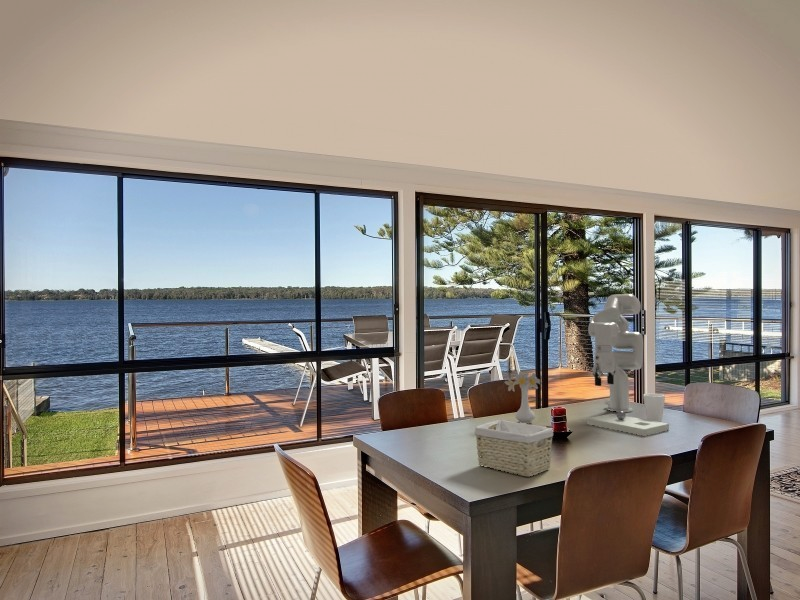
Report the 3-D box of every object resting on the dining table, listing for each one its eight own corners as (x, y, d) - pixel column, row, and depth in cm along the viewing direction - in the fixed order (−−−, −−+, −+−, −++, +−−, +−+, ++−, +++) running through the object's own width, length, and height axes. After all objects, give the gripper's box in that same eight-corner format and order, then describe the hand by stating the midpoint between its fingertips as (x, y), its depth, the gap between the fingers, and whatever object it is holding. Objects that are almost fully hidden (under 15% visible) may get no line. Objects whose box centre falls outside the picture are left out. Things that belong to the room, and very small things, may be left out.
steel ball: (614, 419, 262) (614, 411, 262) (620, 418, 264) (619, 410, 264) (622, 421, 258) (622, 412, 258) (627, 419, 260) (627, 411, 260)
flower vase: (502, 423, 271) (500, 372, 272) (527, 418, 282) (526, 369, 283) (522, 428, 261) (521, 374, 261) (548, 422, 272) (546, 371, 272)
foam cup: (668, 424, 264) (668, 396, 264) (649, 424, 264) (648, 396, 264) (660, 419, 273) (659, 393, 273) (640, 420, 273) (640, 393, 273)
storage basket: (473, 466, 202) (472, 425, 203) (500, 457, 214) (499, 418, 214) (530, 480, 185) (529, 435, 185) (555, 469, 196) (555, 427, 196)
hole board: (587, 424, 266) (587, 418, 266) (611, 419, 276) (611, 413, 276) (644, 436, 241) (644, 429, 241) (668, 430, 251) (668, 423, 251)
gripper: (598, 350, 261) (599, 387, 261) (621, 348, 270) (622, 384, 270) (585, 349, 267) (586, 385, 267) (608, 347, 277) (609, 382, 276)
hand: (604, 384), depth 269 cm, fingers open, 8 cm apart
